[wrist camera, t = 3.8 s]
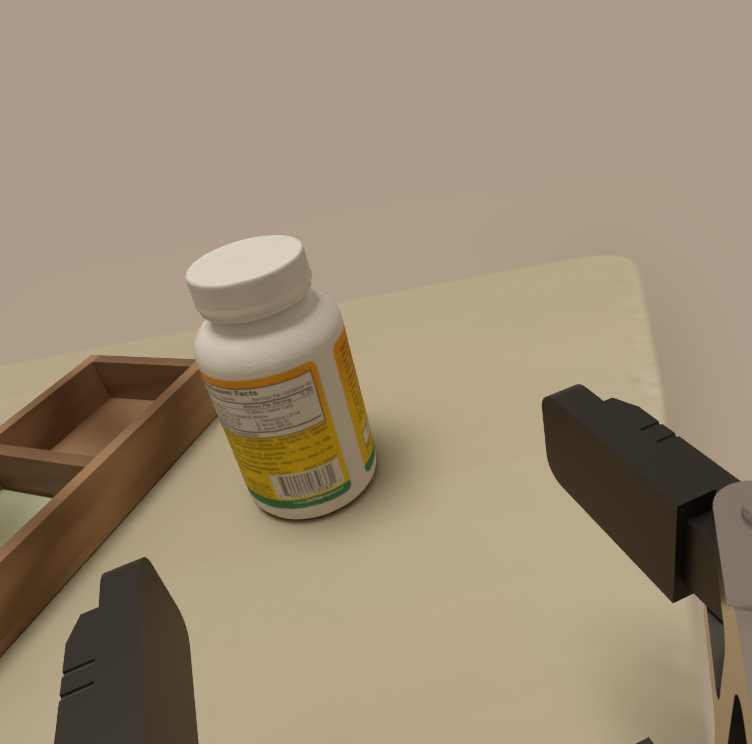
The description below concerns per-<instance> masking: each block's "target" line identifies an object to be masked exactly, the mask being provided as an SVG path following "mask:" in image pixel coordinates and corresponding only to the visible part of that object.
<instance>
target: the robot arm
mask: <svg viewBox="0 0 752 744" xmlns="http://www.w3.org/2000/svg"><path fill="white" fill-rule="evenodd" d="M542 412H543V422H544V432H545V443H546V453H547V459H548V463H549V466H550V468H551V470H552V473H553V474H554V476H555V478H556V479H557V481H558V482H559V484H560V485H561V486H562V487H563V488H564V489H565V490H566V491H567V492H568V493H569V494H570V495H571V497H572V498H573V499H574V500H575V501H576V502H577V503H578V504H579V505H580V506H581V507H582V508H583V509H584V510H585V511H586V512H587V513H588V514H589V515H590V517H591V518H592V519H593V520H594V521H595V522H596V523H597V524H598V525H599V526H600V527H601V528H602V529H603V530H604V531H605V532H606V533H607V534H608V535H609V536H610V538H611V539H612V540H613V541H614V542H615V543H616V544H617V545H618V546H619V547H620V548H621V549H622V550H623V551H624V552H625V553H626V554H627V555H628V556H629V558H630V559H631V560H632V561H633V562H634V563H635V564H636V565H637V566H638V567H639V568H640V569H641V570H642V571H643V572H644V573H645V574H646V575H647V576H648V578H649V579H650V580H651V581H652V582H653V583H654V584H655V585H656V586H657V587H658V588H659V589H660V590H661V591H662V592H663V593H664V594H665V595H666V596H667V598H668V599H669V600H670V601H671V602H672V603H675V602H677V601H679V600H681V599H683V598H685V597H687V596H689V595H691V594H693V593H694V594H695V595H696V596H697V597H698V598H699V599H700V600H701V601H702V602H703V603H704V622H705V631H706V639H707V649H708V657H709V666H710V676H711V685H712V695H713V704H714V715H715V744H752V481H739V480H738V479H737V478H735V477H734V476H733V475H731V474H730V473H729V472H727V471H725V470H724V469H723V468H722V467H720V466H719V465H717V464H716V463H715V462H714V461H712V460H711V459H709V458H708V457H707V456H705V455H704V454H703V453H701V452H700V451H698V450H697V449H696V448H694V447H693V446H692V445H690V444H689V443H688V442H686V441H685V440H684V439H682V438H681V437H679V436H678V437H676V435H675V433H674V432H673V431H671V430H670V429H668V428H667V427H666V426H664V425H663V424H661V425H660V424H659V421H658V420H656V419H655V418H653V417H652V416H651V415H649V414H648V413H647V412H645V411H644V410H643V409H641V408H640V407H638V406H635V405H632V404H629V403H627V402H624V401H621V400H618V399H615V398H610V399H608V400H606V401H603V400H601V399H600V398H599V397H598V396H596V395H595V394H594V393H592V392H591V391H590V390H589V389H587V388H586V387H584V386H583V385H580V384H577V385H574V386H572V387H569V388H567V389H564V390H562V391H559V392H557V393H554V394H552V395H549V396H547V397H545V398H544V399H543V401H542ZM63 674H64V677H62V681H61V689H60V697H61V701H59V706H58V715H57V724H56V732H55V741H54V744H198V733H197V721H196V710H195V699H194V688H193V676H192V665H191V654H190V643H189V637H188V632H187V629H186V625H185V622H184V620H183V617H182V615H181V612H180V610H179V609H178V607H177V605H176V604H175V602H174V600H173V599H172V597H171V595H170V594H169V592H168V590H167V588H166V587H165V585H164V583H163V582H162V580H161V578H160V577H159V575H158V573H157V572H156V570H155V568H154V567H153V565H152V564H151V562H150V561H149V560H148V559H147V558H146V557H143V558H141V559H138V560H136V561H133V562H131V563H128V564H126V565H123V566H121V567H118V568H116V569H113V570H111V571H108V572H106V573H104V574H103V575H102V577H101V581H100V596H99V607H98V608H95V609H93V610H91V611H88V612H86V613H83V614H81V615H80V617H79V619H78V621H77V623H76V625H75V627H74V629H73V631H72V633H71V635H70V637H69V639H68V640H67V642H66V646H65V655H64V663H63ZM636 744H653V742H652V741H651V739H650V738H649V737H648V738H646V739H644V740H642V741H640V742H638V743H636Z"/></svg>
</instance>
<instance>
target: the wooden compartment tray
mask: <svg viewBox="0 0 752 744" xmlns="http://www.w3.org/2000/svg"><path fill="white" fill-rule="evenodd" d="M216 416H217V412H216V410H215V407H214V405H213V403H212V400H211V398H210V395H209V393H208V390H207V388H206V386H205V383H204V381H203V378H202V376H201V373H200V371H199V368H198V366H197V363H196V360H195V359H173V358H150V357H126V356H102V355H91V356H90V357H88V358H87V359H86V360H85V361H83V362H82V363H81V364H79V365H78V366H77V367H76V368H74V369H73V370H72V371H70V372H69V373H68V374H67V375H65V376H64V377H63V378H61V379H60V380H59V381H58V382H56V383H55V384H54V385H52V386H51V387H50V388H49V389H47V390H46V391H45V392H43V393H42V394H41V395H40V396H38V397H37V398H36V399H34V400H33V401H32V402H31V403H29V404H28V405H27V406H25V407H24V408H23V409H22V410H20V411H19V412H18V413H16V414H15V415H14V416H12V417H11V418H10V419H9V420H7V421H6V422H5V423H3V424H2V425H1V426H0V656H1V655H2V654H3V653H4V652H5V650H6V649H7V648H8V647H9V646H10V645H11V644H12V643H13V641H14V640H15V639H16V638H17V637H18V636H19V635H20V634H21V633H22V631H23V630H24V629H25V628H26V627H27V626H28V625H29V624H30V623H31V621H32V620H33V619H34V618H35V617H36V616H37V615H38V614H39V613H40V611H41V610H42V609H43V608H44V607H45V606H46V605H47V604H48V603H49V601H50V600H51V599H52V598H53V597H54V596H55V595H56V594H57V593H58V591H59V590H60V589H61V588H62V587H63V586H64V585H65V584H66V583H67V581H68V580H69V579H70V578H71V577H72V576H73V575H74V574H75V573H76V571H77V570H78V569H79V568H80V567H81V566H82V565H83V564H84V562H85V561H86V560H87V559H88V558H89V557H90V556H91V555H92V554H93V552H94V551H95V550H96V549H97V548H98V547H99V546H100V545H101V544H102V542H103V541H104V540H105V539H106V538H107V537H108V536H109V535H110V534H111V532H112V531H113V530H114V529H115V528H116V527H117V526H118V525H119V524H120V522H121V521H122V520H123V519H124V518H125V517H126V516H127V515H128V514H129V512H130V511H131V510H132V509H133V508H134V507H135V506H136V505H137V504H138V502H139V501H140V500H141V499H142V498H143V497H144V496H145V495H146V494H147V492H148V491H149V490H150V489H151V488H152V487H153V486H154V485H155V483H156V482H157V481H158V480H159V479H160V478H161V477H162V476H163V475H164V473H165V472H166V471H167V470H168V469H169V468H170V467H171V466H172V465H173V463H174V462H175V461H176V460H177V459H178V458H179V457H180V456H181V455H182V453H183V452H184V451H185V450H186V449H187V448H188V447H189V446H190V445H191V443H192V442H193V441H194V440H195V439H196V438H197V437H198V436H199V435H200V433H201V432H202V431H203V430H204V429H205V428H206V427H207V426H208V425H209V423H210V422H211V421H212V420H213V419H214V418H215V417H216Z"/></svg>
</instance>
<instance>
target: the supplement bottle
mask: <svg viewBox="0 0 752 744" xmlns="http://www.w3.org/2000/svg"><path fill="white" fill-rule="evenodd" d="M311 278H312V272H311V269H310V267H309V264H308V261H307V258H306V254H305V251H304V248H303V245H302V243H301V242H300V241H299V240H297V239H296V238H293V237H289V236H283V235H271V236H260V237H254V238H249V239H244V240H240V241H237V242H234V243H231V244H228V245H226V246H223V247H220V248H218V249H216V250H214V251H211V252H209V253H207V254H206V255H204V256H203V257H201V258H200V259H198V260H197V261H196V262H194V263H193V264H192V265H191V266H190V268H189V269H188V270H187V272H186V282H187V285H188V287H189V290H190V293H191V296H192V298H193V301H194V304H195V307H196V309H197V310H198V311H199V312H200V314H201V315H202V317H203V318H204V319H206V320H205V322H204V323H203V324H202V326H201V327H200V329H199V331H198V333H197V336H196V339H195V343H194V356H195V360H196V363H197V366H198V368H199V371H200V373H201V376H202V378H203V381H204V383H205V386H206V388H207V390H208V393H209V395H210V398H211V400H212V403H213V405H214V407H215V410H216V412H217V415H218V417H219V419H220V422H221V424H222V426H223V429H224V431H225V433H226V436H227V438H228V441H229V443H230V445H231V448H232V450H233V453H234V455H235V458H236V460H237V463H238V465H239V468H240V470H241V473H242V475H243V478H244V480H245V482H246V485H247V487H248V489H249V492H250V494H251V496H252V498H253V500H254V501H255V502H256V504H257V505H258V506H259V507H261V508H262V509H263V510H265V511H266V512H268V513H270V514H273V515H276V516H278V517H282V518H286V519H307V518H314V517H319V516H322V515H325V514H328V513H331V512H333V511H335V510H338V509H340V508H341V507H343V506H345V505H346V504H348V503H349V502H351V501H352V500H353V499H355V498H356V497H357V496H358V495H359V494H360V493H361V492H362V491H363V490H364V489H365V487H366V486H367V485H368V483H369V482H370V480H371V478H372V476H373V474H374V471H375V466H376V450H375V446H374V442H373V438H372V434H371V430H370V426H369V422H368V418H367V414H366V410H365V406H364V402H363V398H362V394H361V390H360V386H359V383H358V378H357V374H356V371H355V367H354V363H353V359H352V355H351V351H350V347H349V343H348V339H347V335H346V331H345V327H344V323H343V319H342V316H341V313H340V311H339V309H338V307H337V305H336V304H335V303H334V302H333V301H332V300H331V299H330V298H329V297H328V296H326V295H325V294H324V293H322V292H320V291H318V290H315V289H312V288H310V287H311Z"/></svg>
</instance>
